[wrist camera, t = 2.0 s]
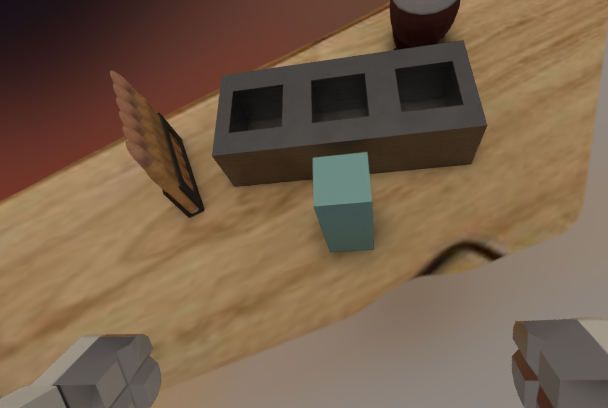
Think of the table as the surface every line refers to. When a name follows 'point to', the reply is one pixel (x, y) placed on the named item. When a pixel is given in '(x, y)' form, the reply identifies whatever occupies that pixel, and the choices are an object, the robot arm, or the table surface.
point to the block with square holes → (350, 114)
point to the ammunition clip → (157, 148)
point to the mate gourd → (421, 21)
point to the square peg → (344, 201)
